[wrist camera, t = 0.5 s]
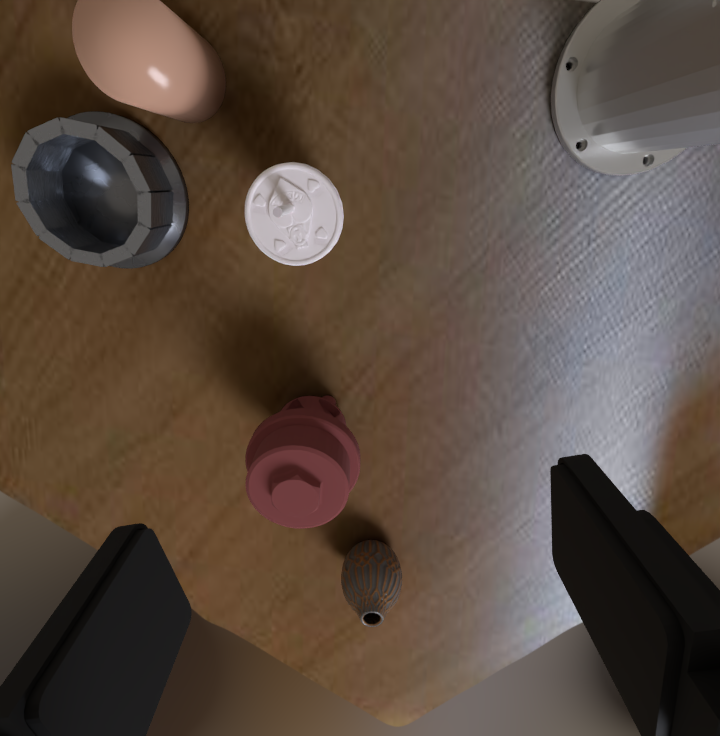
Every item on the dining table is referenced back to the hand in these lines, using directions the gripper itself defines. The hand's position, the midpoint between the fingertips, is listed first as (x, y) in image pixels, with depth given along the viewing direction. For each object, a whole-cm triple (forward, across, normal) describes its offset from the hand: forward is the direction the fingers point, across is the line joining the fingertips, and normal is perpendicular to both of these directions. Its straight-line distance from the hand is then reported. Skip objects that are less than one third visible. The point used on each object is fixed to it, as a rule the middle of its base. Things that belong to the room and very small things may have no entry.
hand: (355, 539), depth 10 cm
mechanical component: (+32, +7, +14) cm, 35 cm away
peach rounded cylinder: (+31, +10, -17) cm, 37 cm away
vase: (+32, +5, +33) cm, 46 cm away
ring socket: (+31, +19, -11) cm, 38 cm away
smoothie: (+31, +3, -6) cm, 32 cm away
